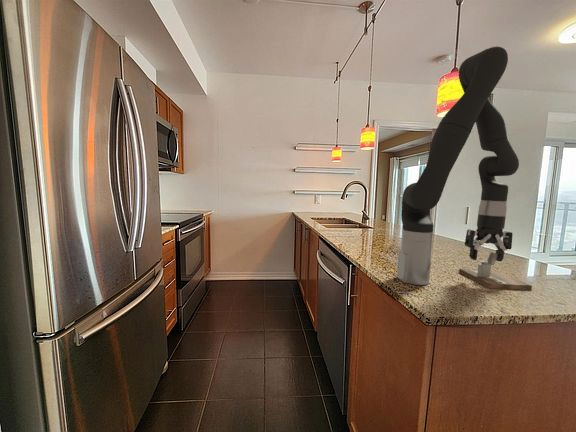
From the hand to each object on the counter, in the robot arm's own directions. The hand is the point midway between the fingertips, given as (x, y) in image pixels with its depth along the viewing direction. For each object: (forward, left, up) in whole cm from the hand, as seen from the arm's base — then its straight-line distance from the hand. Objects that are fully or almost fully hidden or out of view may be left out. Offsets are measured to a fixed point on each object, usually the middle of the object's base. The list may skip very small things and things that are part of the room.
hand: (485, 260), depth 90 cm
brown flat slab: (+2, -1, -7) cm, 7 cm away
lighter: (+1, -1, -6) cm, 6 cm away
